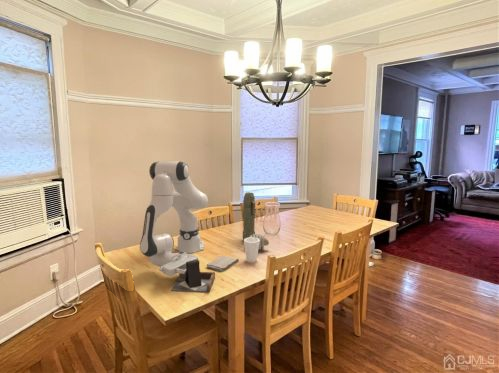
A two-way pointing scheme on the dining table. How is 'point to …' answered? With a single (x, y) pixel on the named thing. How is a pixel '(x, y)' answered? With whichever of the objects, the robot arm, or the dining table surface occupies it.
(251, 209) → the green cactus
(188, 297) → the dining table surface
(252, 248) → the foam cup
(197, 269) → the door stopper
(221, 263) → the washcloth
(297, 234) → the dining table surface
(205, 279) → the tray
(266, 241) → the toy sheep
